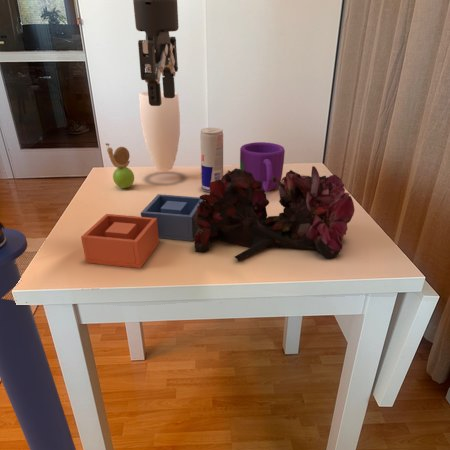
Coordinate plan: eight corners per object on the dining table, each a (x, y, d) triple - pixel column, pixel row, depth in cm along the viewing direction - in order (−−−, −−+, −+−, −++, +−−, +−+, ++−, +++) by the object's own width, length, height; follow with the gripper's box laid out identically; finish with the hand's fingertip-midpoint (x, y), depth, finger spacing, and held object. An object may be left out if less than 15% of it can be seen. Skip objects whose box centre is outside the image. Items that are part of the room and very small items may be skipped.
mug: (236, 179, 117) (237, 142, 111) (276, 178, 118) (279, 141, 112) (246, 202, 102) (247, 161, 97) (291, 200, 104) (295, 159, 98)
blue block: (162, 228, 88) (160, 208, 86) (168, 219, 92) (167, 200, 89) (182, 230, 88) (180, 210, 85) (188, 221, 91) (187, 202, 89)
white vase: (185, 183, 114) (180, 96, 102) (146, 185, 112) (137, 97, 100) (182, 171, 122) (177, 89, 110) (146, 173, 121) (137, 90, 109)
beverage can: (220, 185, 113) (220, 126, 104) (225, 192, 108) (225, 131, 100) (200, 186, 112) (198, 127, 103) (203, 194, 107) (202, 132, 99)
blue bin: (143, 236, 87) (140, 212, 84) (159, 216, 95) (157, 194, 92) (193, 241, 85) (191, 216, 82) (205, 220, 94) (204, 197, 91)
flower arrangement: (193, 262, 78) (190, 183, 69) (197, 219, 94) (194, 150, 86) (360, 261, 78) (377, 182, 70) (335, 218, 95) (346, 150, 86)
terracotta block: (108, 252, 79) (104, 231, 77) (117, 242, 83) (114, 221, 80) (130, 255, 78) (127, 233, 76) (139, 244, 82) (136, 223, 80)
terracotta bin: (86, 262, 78) (80, 236, 75) (110, 237, 86) (106, 213, 83) (140, 268, 76) (137, 242, 73) (159, 242, 85) (157, 218, 82)
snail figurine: (107, 188, 110) (99, 141, 103) (126, 182, 114) (120, 136, 107) (120, 193, 107) (113, 145, 101) (139, 187, 111) (134, 140, 105)
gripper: (148, -1, 78) (156, 95, 87) (117, -3, 67) (130, 107, 76) (187, -1, 77) (191, 96, 86) (162, -3, 66) (170, 109, 75)
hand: (162, 101), depth 81 cm, fingers open, 8 cm apart
